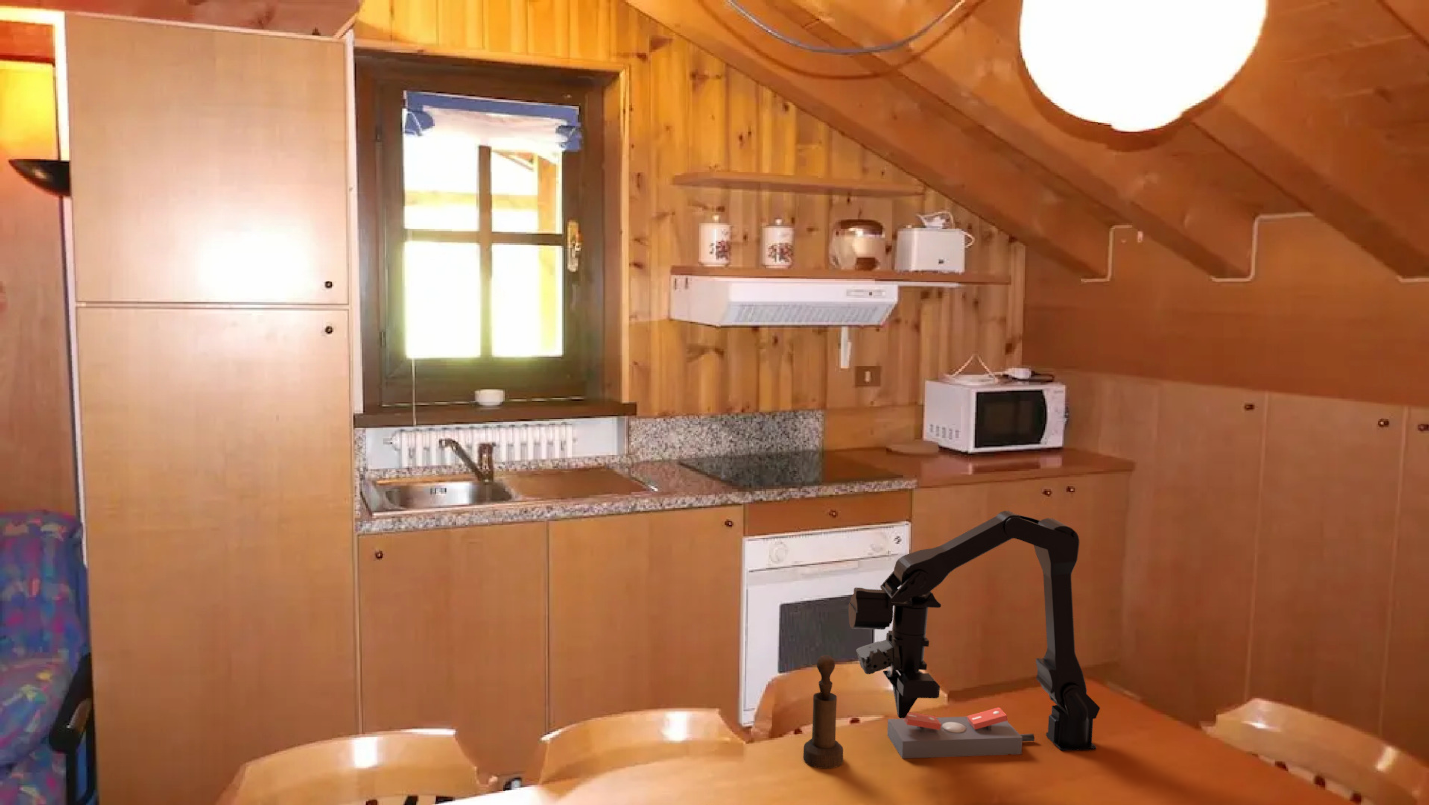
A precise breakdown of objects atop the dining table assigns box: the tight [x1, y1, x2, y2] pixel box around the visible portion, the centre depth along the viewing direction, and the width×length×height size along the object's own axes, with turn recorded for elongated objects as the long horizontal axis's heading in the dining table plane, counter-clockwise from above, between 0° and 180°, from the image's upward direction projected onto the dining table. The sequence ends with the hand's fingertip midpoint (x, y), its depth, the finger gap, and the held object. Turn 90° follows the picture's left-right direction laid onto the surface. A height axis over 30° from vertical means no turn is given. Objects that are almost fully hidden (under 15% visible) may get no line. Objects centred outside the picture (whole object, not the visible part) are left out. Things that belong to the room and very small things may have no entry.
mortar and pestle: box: [802, 654, 844, 769], centre depth 170 cm, size 7×6×18 cm
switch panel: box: [886, 716, 1035, 759], centre depth 177 cm, size 25×9×4 cm, turn 96°
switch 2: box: [966, 706, 1008, 729], centre depth 178 cm, size 6×3×1 cm, turn 96°
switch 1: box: [902, 711, 941, 730], centre depth 176 cm, size 6×3×1 cm, turn 97°
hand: (901, 717), depth 176 cm, fingers closed, pressing on switch 1
